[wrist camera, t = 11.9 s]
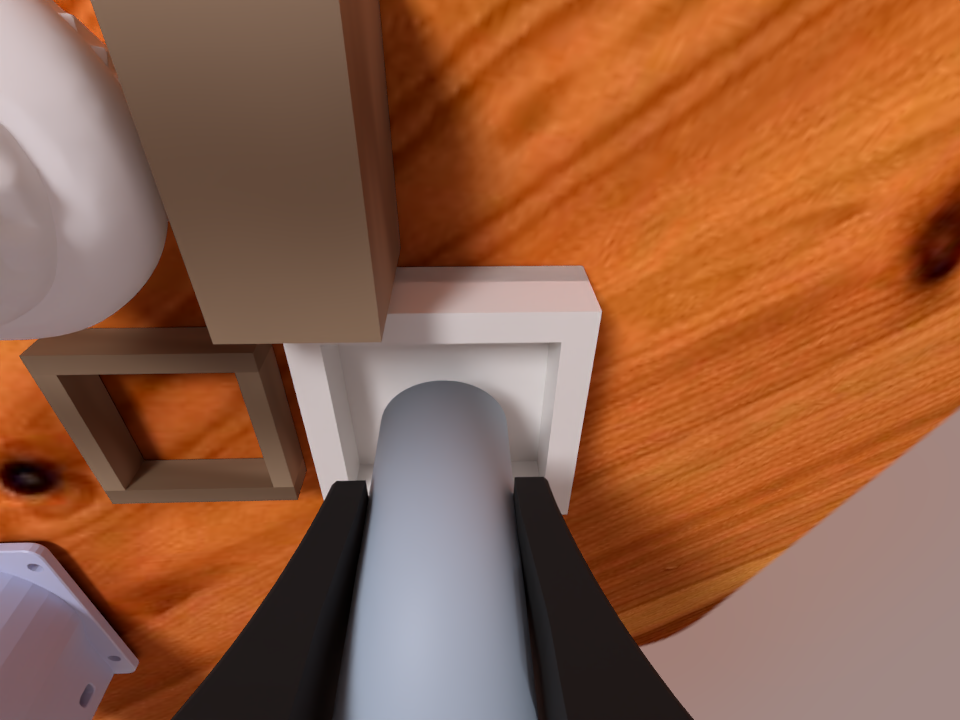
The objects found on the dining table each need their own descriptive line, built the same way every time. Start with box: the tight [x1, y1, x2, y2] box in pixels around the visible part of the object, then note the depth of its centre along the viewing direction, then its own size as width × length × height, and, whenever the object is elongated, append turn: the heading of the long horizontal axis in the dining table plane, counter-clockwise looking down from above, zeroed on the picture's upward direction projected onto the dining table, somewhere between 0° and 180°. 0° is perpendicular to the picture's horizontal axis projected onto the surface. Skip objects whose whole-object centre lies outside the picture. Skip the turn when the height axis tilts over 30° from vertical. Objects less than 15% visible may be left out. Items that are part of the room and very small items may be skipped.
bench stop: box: [91, 0, 401, 344], centre depth 9 cm, size 6×3×4 cm, turn 0°
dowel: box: [332, 380, 538, 720], centre depth 11 cm, size 3×3×7 cm
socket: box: [20, 327, 307, 504], centre depth 15 cm, size 6×6×1 cm
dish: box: [283, 266, 602, 515], centre depth 14 cm, size 7×7×2 cm
